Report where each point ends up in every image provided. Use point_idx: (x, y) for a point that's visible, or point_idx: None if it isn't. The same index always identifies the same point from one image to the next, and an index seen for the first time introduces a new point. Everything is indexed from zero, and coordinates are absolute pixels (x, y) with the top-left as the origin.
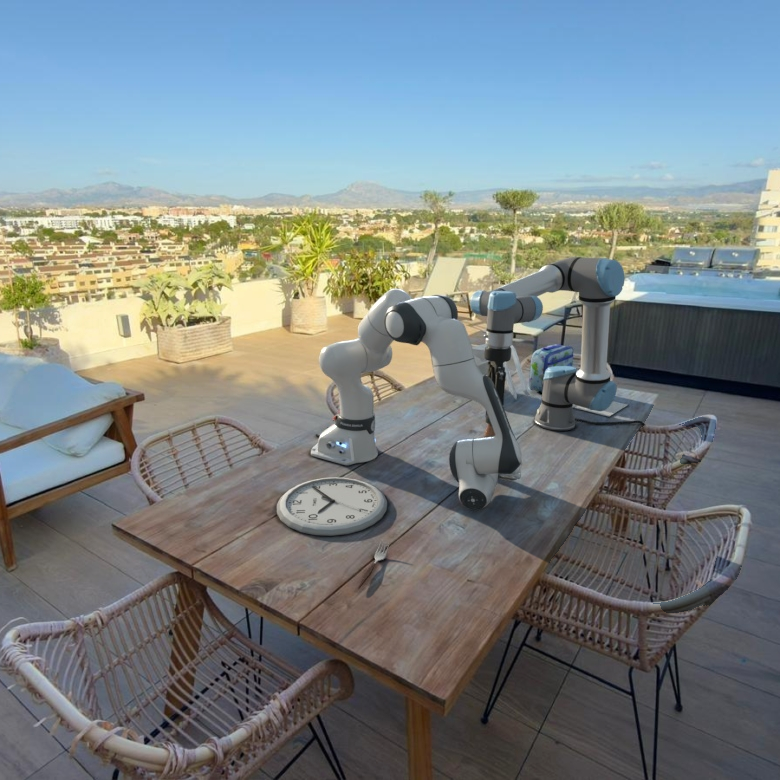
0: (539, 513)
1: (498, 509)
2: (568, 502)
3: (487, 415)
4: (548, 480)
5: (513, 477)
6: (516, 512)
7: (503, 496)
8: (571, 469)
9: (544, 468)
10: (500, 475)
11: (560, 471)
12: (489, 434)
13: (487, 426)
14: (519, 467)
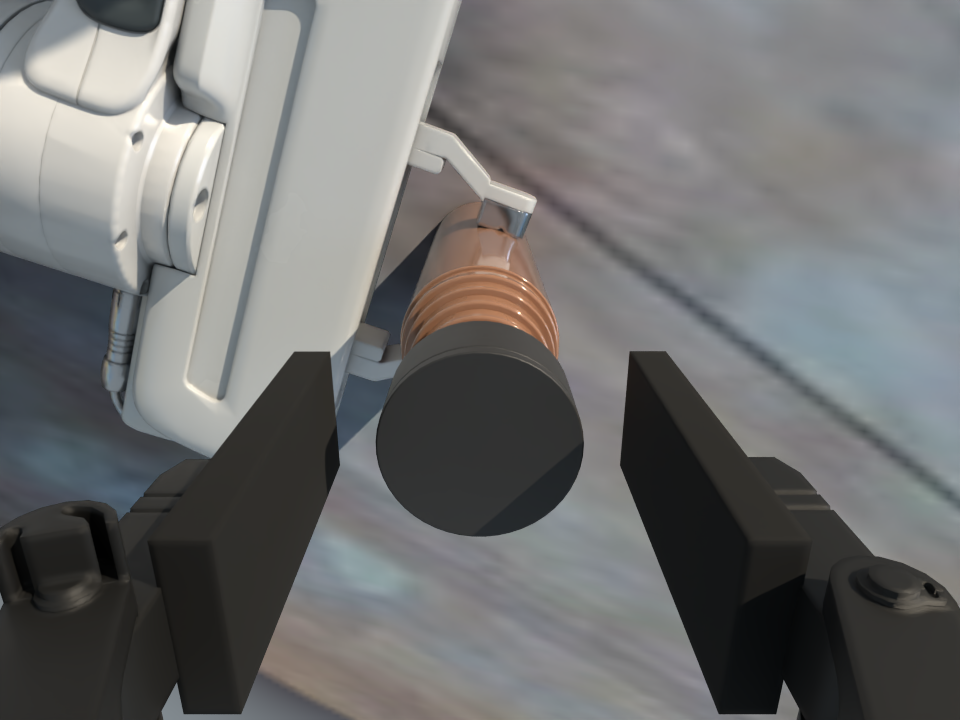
0: (48, 434)
1: None
2: None
3: (499, 375)
4: (425, 565)
5: (101, 380)
6: (28, 321)
7: None
8: (556, 696)
9: (571, 583)
10: (112, 296)
11: (533, 645)
12: (413, 321)
13: None
14: (198, 452)
